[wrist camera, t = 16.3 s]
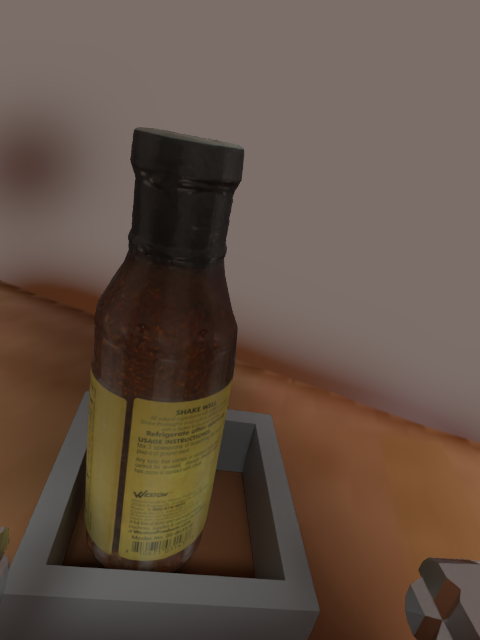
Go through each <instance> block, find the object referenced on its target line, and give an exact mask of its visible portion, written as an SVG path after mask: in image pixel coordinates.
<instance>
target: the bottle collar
mask: <svg viewBox="0 0 480 640" xmlns="http://www.w3.org/2000/svg"><path fill="white" fill-rule="evenodd" d="M89 396H90V391H85V394H84V396H83V398H82V401H81V403H80V405H79V408H78V410H77V412H76V415H75V417H74V419H73V422H72V424H71V426H70V429H69V431H68V433H67V436H66V438H65V440H64V443H63V445H62V447H61V450H60V452H59V454H58V457H57V459H56V461H55V464H54V466H53V468H52V471H51V473H50V475H49V478H48V480H47V482H46V485H45V487H44V489H43V492H42V494H41V496H40V499H39V501H38V503H37V506H36V508H35V510H34V513H33V515H32V517H31V520H30V522H29V524H28V527H27V529H26V531H25V534H24V536H23V538H22V541H21V543H20V545H19V548H18V550H17V552H16V555H15V557H14V559H13V562H12V564H11V566H10V569H9V572H8V578H7V584H6V587H5V591H4V594H3V597H2V601H1V603H0V640H308V638H309V636H310V634H311V631H312V629H313V627H314V624H315V622H316V620H317V617H318V615H319V613H320V609H319V605H318V601H317V597H316V593H315V589H314V585H313V581H312V577H311V573H310V569H309V565H308V561H307V557H306V553H305V549H304V545H303V541H302V537H301V533H300V529H299V525H298V521H297V517H296V513H295V509H294V505H293V501H292V497H291V493H290V489H289V485H288V481H287V477H286V473H285V469H284V465H283V461H282V457H281V453H280V449H279V445H278V441H277V437H276V433H275V429H274V425H273V421H272V417H271V415H269V414H261V413H253V412H245V411H238V410H230V409H227V413H226V418H225V423H224V429H223V434H222V439H221V445H220V450H219V455H218V461H217V466H216V470H223V471H233V472H242V475H243V483H244V491H245V499H246V507H247V515H248V523H249V531H250V539H251V547H252V555H253V563H254V571H255V579H254V578H239V577H223V576H208V575H193V574H178V573H163V572H148V571H132V570H117V569H102V568H87V567H72V566H62V564H63V561H64V558H65V555H66V551H67V548H68V545H69V542H70V539H71V535H72V532H73V529H74V526H75V523H76V519H77V516H78V513H79V510H80V506H81V503H82V500H83V497H84V494H85V485H86V465H87V464H86V458H87V435H88V416H89Z"/></svg>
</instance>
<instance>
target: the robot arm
mask: <svg viewBox="0 0 480 640" xmlns="http://www.w3.org/2000/svg"><path fill="white" fill-rule="evenodd" d="M8 544H9V528H4V527H0V603H1V601H2V597H3V594H4V591H5V587H6V584H7V578H8V572H9V559H8V558H7V557H6V556H5V555H4V553H5V550H6V548H7V546H8ZM418 570H419V572H420V575H421V578H419V579H418V580H416V581H415V582H413V583H412V584H411V585H410V587H409V589H408V592H407V594H406V599H405V611H406V616H407V620H408V624H409V626H410V629H411V631H412V634H413V636H414V637H415V638H416V639H417V640H480V561H471V560H464V559H446V558H428V559H426V560H424V561H423V562H422V564H421V566H420V568H419V569H418Z"/></svg>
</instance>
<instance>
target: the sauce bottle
mask: <svg viewBox="0 0 480 640" xmlns="http://www.w3.org/2000/svg"><path fill="white" fill-rule="evenodd" d="M130 160H131V164H132V167H133V170H134V173H135V177H136V179H135V189H134V205H133V212H132V228H131V230H130V232H129V235H128V240H129V251H128V253H127V256H126V258H125V261H124V262H123V264H122V265H121V267H120V268H119V269H118V271H117V272H116V274H115V275H114V277H113V278H112V280H111V282H110V283H109V285H108V286H107V288H106V290H105V291H104V293H103V294H102V296H101V298H100V299H99V300H98V304H97V308H96V313H95V347H94V356H93V358H92V362H91V372H90V396H89V416H88V435H87V458H86V464H87V465H86V485H85V513H84V517H85V524H86V528H87V529H86V538H87V544H88V547H89V549H90V550H91V552H92V553H93V555H94V557H95V559H97V560H98V561H99V562H100V563H101V564H102V565H103V566H104V567H105V568H106V569H117V570H132V571H148V572H163V573H173V572H175V571H176V570H178V569H180V568H181V567H182V566H183V565H184V564H185V563H186V562H187V561H188V560H189V559H190V558H191V556H192V555H193V553H194V551H195V550H196V548H197V547H198V545H199V543H200V540H201V535H202V531H203V528H204V526H205V523H206V520H207V515H208V510H209V505H210V500H211V494H212V489H213V484H214V478H215V472H216V466H217V461H218V455H219V450H220V445H221V439H222V434H223V429H224V423H225V418H226V413H227V408H228V403H229V397H230V392H231V386H232V381H233V375H234V368H235V354H236V341H237V324H236V321H235V317H234V315H233V311H232V307H231V303H230V298H229V293H228V288H227V283H226V278H225V270H224V257H225V254H226V251H227V247H226V236H227V231H228V226H229V216H230V213H231V206H232V202H233V199H232V198H233V195H234V192H235V190H236V189H237V187H238V185H239V183H240V182H241V179H242V170H243V160H244V149H243V148H242V147H241V146H240V145H235V144H231V143H225V142H221V141H217V140H212V139H206V138H200V137H195V136H190V135H185V134H179V133H175V132H171V131H165V130H159V129H153V128H142V127H139V128H136V129H135V130H134V133H133V142H132V150H131V159H130Z"/></svg>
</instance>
